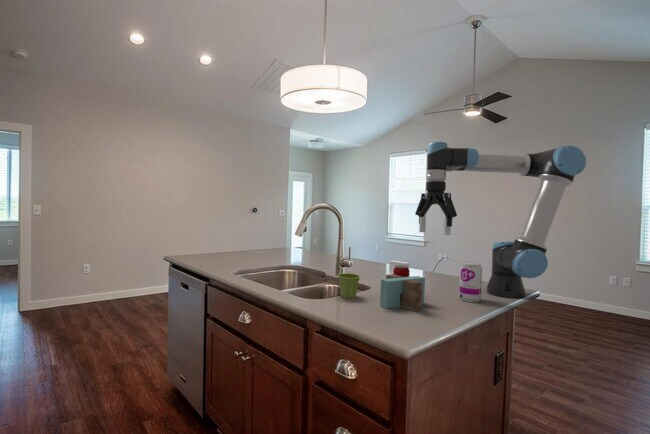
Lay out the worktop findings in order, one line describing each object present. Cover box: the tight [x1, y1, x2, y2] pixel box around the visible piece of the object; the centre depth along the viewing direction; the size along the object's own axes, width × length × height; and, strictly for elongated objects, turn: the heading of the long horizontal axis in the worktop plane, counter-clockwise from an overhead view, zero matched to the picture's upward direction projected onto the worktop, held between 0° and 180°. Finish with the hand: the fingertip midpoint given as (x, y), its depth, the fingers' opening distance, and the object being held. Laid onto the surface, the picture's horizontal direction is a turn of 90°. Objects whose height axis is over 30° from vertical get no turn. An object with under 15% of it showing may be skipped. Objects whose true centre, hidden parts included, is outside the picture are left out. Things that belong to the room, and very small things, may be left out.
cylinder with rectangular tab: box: [388, 260, 410, 275], centre depth 159 cm, size 9×9×12 cm
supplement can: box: [458, 261, 483, 303], centre depth 141 cm, size 8×8×15 cm
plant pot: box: [337, 272, 362, 299], centre depth 141 cm, size 9×9×9 cm
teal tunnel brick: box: [379, 275, 426, 310], centre depth 131 cm, size 18×4×10 cm, turn 118°
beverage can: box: [393, 265, 411, 277], centre depth 147 cm, size 7×7×12 cm
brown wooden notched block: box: [385, 274, 423, 312], centre depth 131 cm, size 4×16×10 cm, turn 28°
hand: (434, 233), depth 140 cm, fingers open, 13 cm apart
